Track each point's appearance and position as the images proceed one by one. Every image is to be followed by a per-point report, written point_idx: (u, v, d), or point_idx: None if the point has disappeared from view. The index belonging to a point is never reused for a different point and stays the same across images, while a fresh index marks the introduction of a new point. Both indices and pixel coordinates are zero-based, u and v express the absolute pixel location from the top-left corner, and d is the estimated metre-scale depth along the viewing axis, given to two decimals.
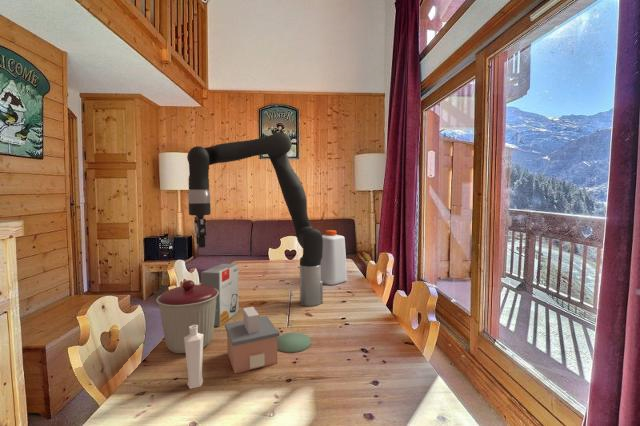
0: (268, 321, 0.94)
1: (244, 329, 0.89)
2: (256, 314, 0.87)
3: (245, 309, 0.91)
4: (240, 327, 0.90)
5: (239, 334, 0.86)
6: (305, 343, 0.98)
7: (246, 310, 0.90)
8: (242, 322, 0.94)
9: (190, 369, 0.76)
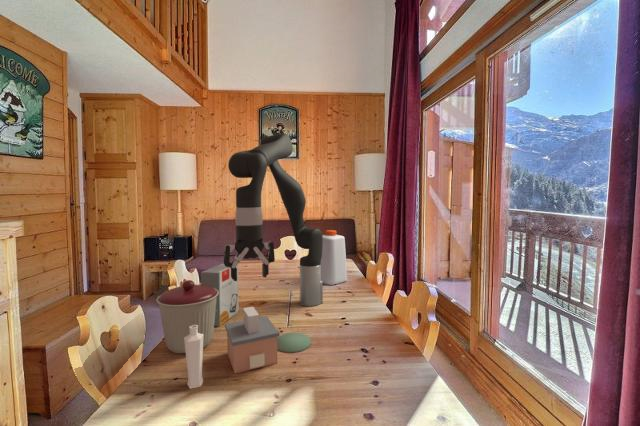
0: (268, 321, 0.94)
1: (244, 329, 0.89)
2: (256, 314, 0.87)
3: (245, 309, 0.91)
4: (240, 327, 0.90)
5: (239, 334, 0.86)
6: (305, 343, 0.98)
7: (246, 310, 0.90)
8: (242, 322, 0.94)
9: (190, 369, 0.76)
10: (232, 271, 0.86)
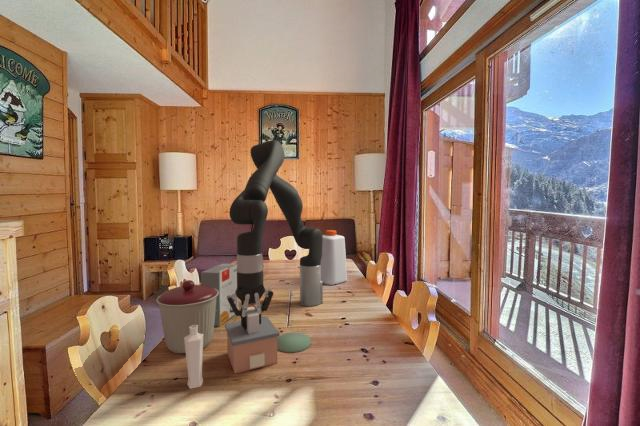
0: (268, 321, 0.94)
1: (244, 329, 0.89)
2: (256, 314, 0.87)
3: None
4: (240, 327, 0.90)
5: (239, 334, 0.86)
6: (305, 343, 0.98)
7: None
8: None
9: (190, 369, 0.76)
10: (242, 319, 0.88)
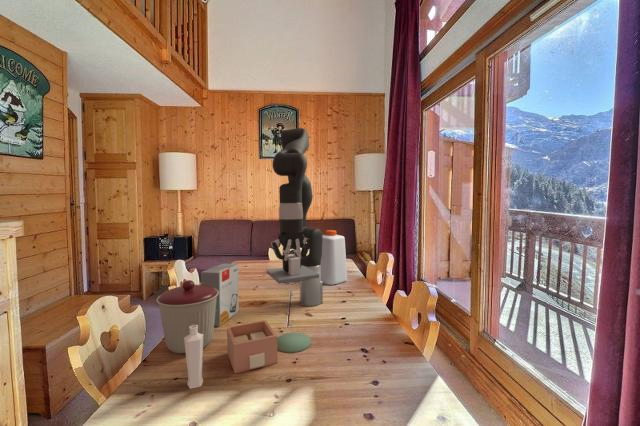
0: (306, 268, 1.02)
1: (286, 272, 0.97)
2: (297, 258, 0.95)
3: None
4: (281, 271, 0.98)
5: (283, 275, 0.93)
6: (305, 343, 0.98)
7: None
8: (282, 269, 1.01)
9: (190, 369, 0.76)
10: (284, 263, 0.96)
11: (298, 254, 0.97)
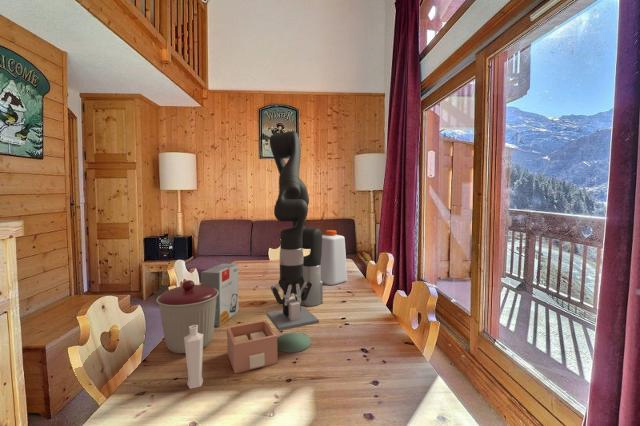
0: (306, 310, 1.03)
1: (286, 317, 0.97)
2: (297, 303, 0.96)
3: None
4: (282, 315, 0.99)
5: (283, 321, 0.94)
6: (305, 343, 0.98)
7: None
8: (282, 311, 1.02)
9: (190, 369, 0.76)
10: (284, 308, 0.96)
11: (298, 298, 0.98)
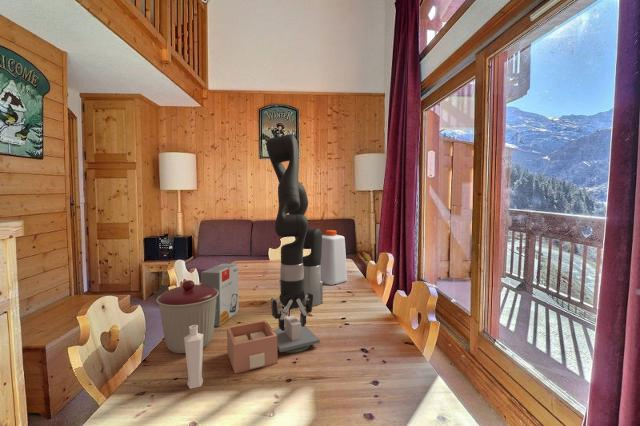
0: (306, 328, 1.03)
1: (287, 336, 0.98)
2: (298, 323, 0.96)
3: (287, 318, 1.00)
4: (283, 334, 0.99)
5: (284, 341, 0.95)
6: None
7: (288, 319, 0.99)
8: None
9: (190, 369, 0.76)
10: (280, 322, 0.96)
11: (303, 311, 0.99)
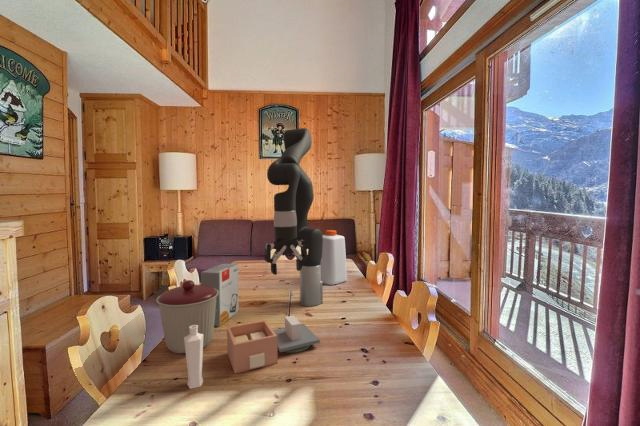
0: (306, 328, 1.03)
1: (287, 336, 0.98)
2: (298, 323, 0.96)
3: (287, 318, 1.00)
4: (283, 334, 0.99)
5: (284, 341, 0.95)
6: None
7: (288, 319, 0.99)
8: (283, 329, 1.03)
9: (190, 369, 0.76)
10: (272, 266, 0.99)
11: (298, 256, 1.03)
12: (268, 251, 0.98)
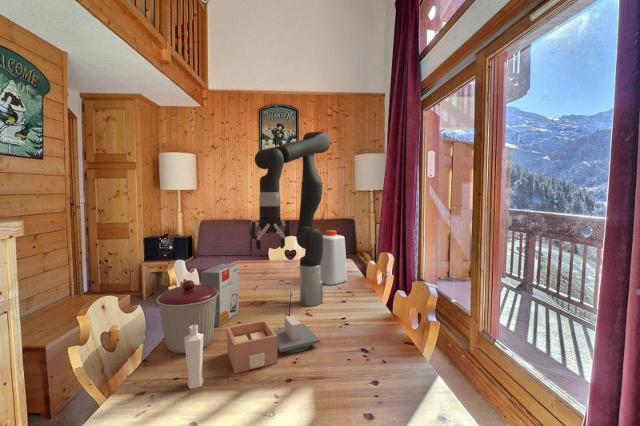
0: (306, 328, 1.03)
1: (287, 336, 0.98)
2: (298, 323, 0.96)
3: (287, 318, 1.00)
4: (283, 334, 0.99)
5: (284, 341, 0.95)
6: None
7: (288, 319, 0.99)
8: (283, 329, 1.03)
9: (190, 369, 0.76)
10: (257, 242, 1.09)
11: (281, 234, 1.12)
12: (253, 228, 1.07)
